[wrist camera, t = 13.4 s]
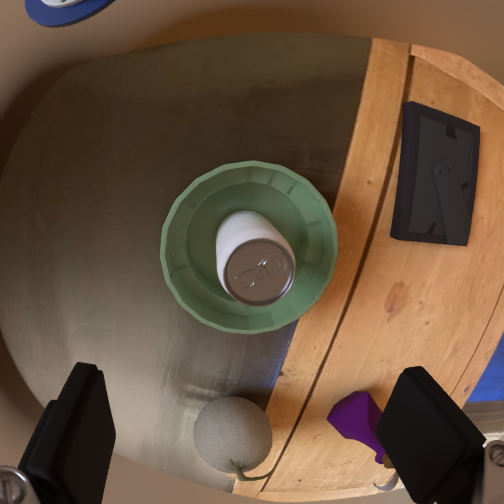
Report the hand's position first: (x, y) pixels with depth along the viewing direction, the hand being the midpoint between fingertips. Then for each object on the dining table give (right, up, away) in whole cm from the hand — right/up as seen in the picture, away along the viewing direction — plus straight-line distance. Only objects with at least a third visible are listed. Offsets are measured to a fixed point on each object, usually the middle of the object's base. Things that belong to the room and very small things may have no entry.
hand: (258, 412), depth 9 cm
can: (-1, +6, +27) cm, 28 cm away
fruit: (-3, -18, +35) cm, 40 cm away
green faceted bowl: (-1, +6, +28) cm, 29 cm away
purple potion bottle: (+16, -20, +38) cm, 45 cm away
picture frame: (+25, +15, +29) cm, 41 cm away
